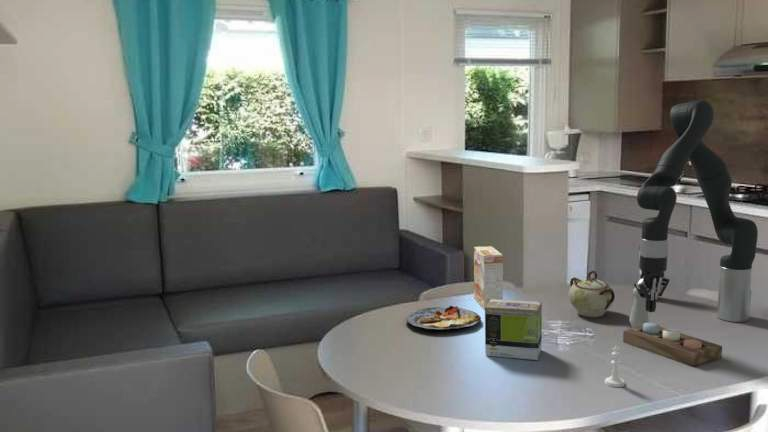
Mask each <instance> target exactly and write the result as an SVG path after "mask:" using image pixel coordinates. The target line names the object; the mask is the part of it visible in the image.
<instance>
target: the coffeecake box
mask: <svg viewBox="0 0 768 432" xmlns="http://www.w3.org/2000/svg"><path fill="white" fill-rule="evenodd" d="M473 276H474V277H473V280H474V281H473V299H474V300H475V301H476V302H477V303H478V305H480V307H481V308H482V309H483V311H485V307H486V306H487V304H488V303H489V301H490V300H491V299H504V289H503V288H504V254H503V253H501V252H500V251H498V250H497V249H496V248H495V247H493V246H492V245H489V246H474V247H473Z"/></svg>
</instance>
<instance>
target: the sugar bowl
mask: <svg viewBox="0 0 768 432" xmlns="http://www.w3.org/2000/svg"><path fill="white" fill-rule="evenodd" d="M592 274H594V277H591V275H592ZM569 285H570V288H569V291H568V294H567V295H568V299H569V302H570V304H571V305H572V306H573V308H574V309H575V311H576V312H577V314H578V315H580V316H583V317H586V318H587V317H588V318H598V317H603V316H604V315H605V313H606V312H607V311H608V310H609V309H610V308H611V307H612V305H613V304H614V301H615V297H616V294H615V292H614V289H613V288H612V287H611V286H610V285H609V284H608V283H607V282H604V281H602V280H600V279H598V274H597V271H596V270H592V271H589V272H588V274H587V278H586V279H585V278H584V279H580V278H577V277H572V278H571V279H570V282H569Z"/></svg>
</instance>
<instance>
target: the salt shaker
mask: <svg viewBox="0 0 768 432" xmlns="http://www.w3.org/2000/svg"><path fill="white" fill-rule="evenodd" d="M632 295H633V296H634V300H633V303H632V308H631V310H630V314H629V315H630V316H629V319H628V320H629V324H630V326H631V328H635V327H639V326H643V323H650V320H649V312H648V311H646V308H645V307H646V299H645V298H642V297H641V296H640V295H639V293H638V291H637V289H636V288H635V287H634V288H633V290H632Z"/></svg>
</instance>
